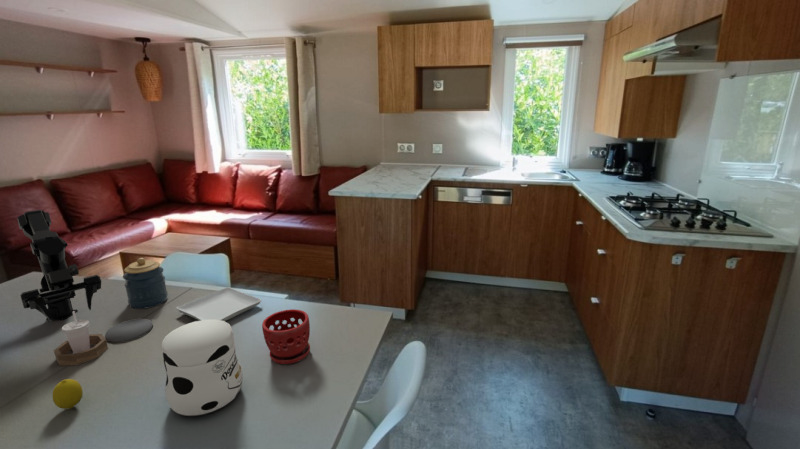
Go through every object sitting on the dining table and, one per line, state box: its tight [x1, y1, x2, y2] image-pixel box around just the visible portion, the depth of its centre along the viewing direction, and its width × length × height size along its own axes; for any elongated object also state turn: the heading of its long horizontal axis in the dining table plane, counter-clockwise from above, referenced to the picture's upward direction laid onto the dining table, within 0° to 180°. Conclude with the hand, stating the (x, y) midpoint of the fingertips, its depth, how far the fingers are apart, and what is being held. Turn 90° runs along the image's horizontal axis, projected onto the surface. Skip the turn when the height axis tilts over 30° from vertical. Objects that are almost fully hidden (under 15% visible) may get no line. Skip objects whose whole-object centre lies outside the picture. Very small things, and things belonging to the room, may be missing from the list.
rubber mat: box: [104, 318, 154, 343], centre depth 132 cm, size 13×13×1 cm
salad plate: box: [175, 287, 262, 322], centre depth 145 cm, size 21×21×3 cm
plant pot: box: [261, 308, 311, 365], centre depth 117 cm, size 13×13×12 cm
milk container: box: [161, 319, 244, 417], centre depth 99 cm, size 17×17×18 cm
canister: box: [122, 257, 169, 310], centre depth 150 cm, size 13×13×18 cm
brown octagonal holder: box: [53, 333, 109, 367], centre depth 120 cm, size 12×12×3 cm
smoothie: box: [61, 311, 91, 354], centre depth 118 cm, size 6×6×14 cm
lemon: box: [52, 378, 83, 410], centre depth 97 cm, size 6×6×8 cm
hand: (71, 315), depth 120 cm, fingers open, 9 cm apart
